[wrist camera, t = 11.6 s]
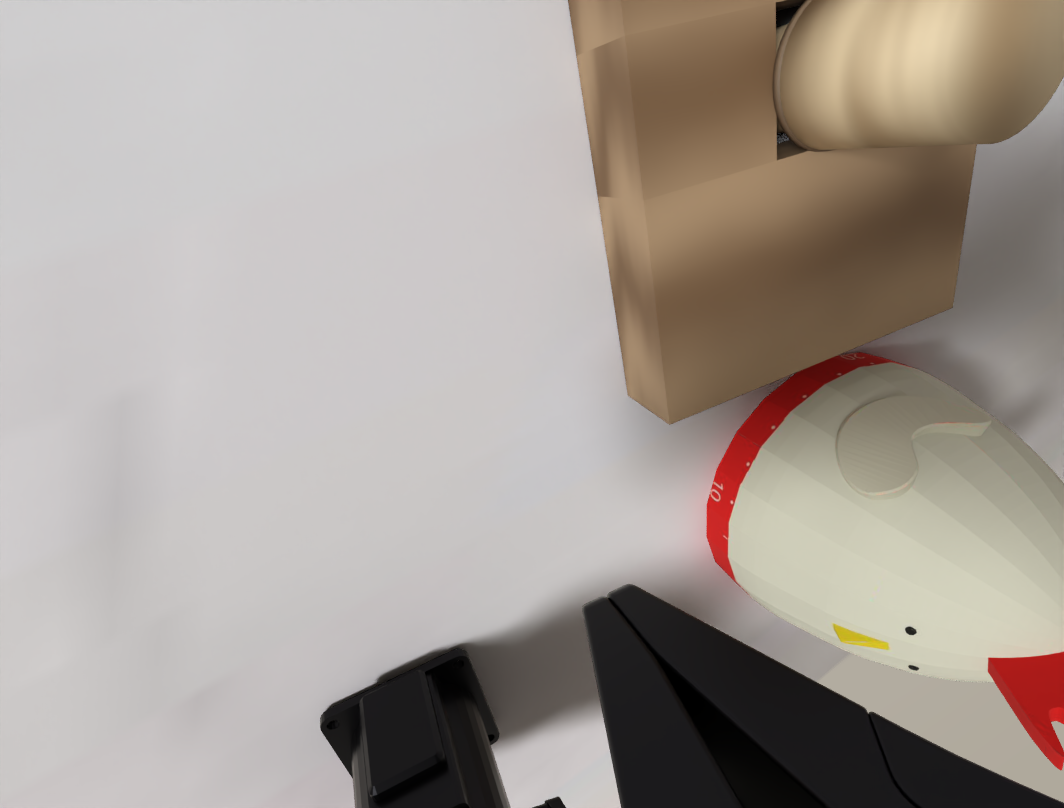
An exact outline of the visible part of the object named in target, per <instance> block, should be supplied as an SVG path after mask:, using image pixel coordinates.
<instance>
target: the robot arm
mask: <svg viewBox="0 0 1064 808" xmlns="http://www.w3.org/2000/svg"><path fill="white" fill-rule="evenodd" d="M582 612H583V617H584V622H585V627H586V632H587V637H588V642H589V647H590V652H591V657H592V662H593V667H594V672H595V677H596V682H597V687H598V692H599V697H600V702H601V707H602V713H603V718H604V723H605V728H606V733H607V738H608V743H609V748H610V753H611V758H612V763H613V768H614V773H615V778H616V783H617V788H618V793H619V798H620V803H621V808H1064V803H1063V802H1061V801H1058V800H1056V799H1053V798H1051V797H1049V796H1047V795H1044V794H1042V793H1040V792H1038V791H1035V790H1033V789H1031V788H1028V787H1026V786H1024V785H1021V784H1019V783H1017V782H1015V781H1013V780H1010V779H1008V778H1006V777H1004V776H1001V775H999V774H997V773H995V772H992V771H990V770H988V769H986V768H984V767H982V766H979V765H977V764H975V763H973V762H971V761H969V760H966V759H964V758H962V757H960V756H958V755H956V754H954V753H952V752H950V751H948V750H946V749H944V748H942V747H940V746H938V745H936V744H934V743H932V742H930V741H928V740H926V739H924V738H922V737H920V736H918V735H916V734H914V733H912V732H910V731H908V730H906V729H904V728H902V727H900V726H899V725H897V724H895V723H893V722H891V721H889V720H887V719H885V718H883V717H882V716H880V715H878V714H876V713H874V712H869V713H868V712H867V710H866V709H865V708H864V707H862V706H861V705H859V704H857V703H855V702H853V701H851V700H849V699H847V698H846V697H844V696H842V695H840V694H838V693H836V692H834V691H832V690H830V689H828V688H827V687H825V686H823V685H821V684H819V683H817V682H815V681H814V680H812V679H810V678H808V677H806V676H804V675H802V674H800V673H798V672H797V671H795V670H793V669H791V668H789V667H787V666H785V665H783V664H782V663H780V662H778V661H776V660H774V659H772V658H770V657H768V656H766V655H765V654H763V653H761V652H759V651H757V650H755V649H753V648H751V647H750V646H748V645H746V644H744V643H742V642H740V641H738V640H736V639H734V638H733V637H731V636H729V635H727V634H725V633H723V632H721V631H719V630H718V629H716V628H714V627H712V626H710V625H708V624H706V623H704V622H702V621H701V620H699V619H697V618H695V617H693V616H691V615H689V614H687V613H686V612H684V611H682V610H680V609H678V608H676V607H674V606H672V605H670V604H669V603H667V602H665V601H663V600H661V599H659V598H657V597H655V596H654V595H652V594H650V593H648V592H646V591H644V590H642V589H640V588H638V587H637V586H635V585H632V584H627V585H624V586H622V587H620V588H618V589H616V590H614V591H612V592H610V593H609V594H608V595H607V597H605V596H602V597H599V598H597V599H595V600H593V601H591V602H589V603H587V604H585V605H584V606H583V608H582ZM458 660H459V661H458ZM456 661H458V662H456ZM333 720H335V721H333ZM320 728H321V731H322V733H323V734H324V736H325V737H326V739H327V740H328V742H329V743H330V745H331V746H332V748H333V749H334V751H335V752H336V754H337V755H338V757H339V758H340V760H341V761H342V763H343V764H344V766H345V768H346V769H347V771H348V772H349V774H350V775H351V777H352V778H353V786H354V799H355V808H510V804H509V801H508V798H507V795H506V792H505V789H504V786H503V783H502V779H501V776H500V773H499V770H498V767H497V764H496V761H495V758H494V754H493V751H492V748H491V745H492V744H493V743H495V742H496V741H497V740H498V738H499V731H498V728H497V725H496V723H495V721H494V718H493V716H492V713H491V711H490V708H489V706H488V703H487V701H486V698H485V696H484V694H483V691H482V689H481V686H480V684H479V681H478V679H477V676H476V674H475V671H474V669H473V667H472V664H471V662H470V659H469V657H468V654H467V652H466V651H465V650H463V649H456V650H453V651H451V652H449V653H446V654H444V655H442V656H440V657H438V658H436V659H434V660H432V661H430V662H427V663H425V664H423V665H421V666H419V667H417V668H415V669H413V670H411V671H408V672H406V673H404V674H402V675H400V676H398V677H396V678H394V679H392V680H389V681H387V682H385V683H383V684H381V685H379V686H377V687H375V688H372V689H370V690H368V691H366V692H364V693H362V694H360V695H358V696H356V697H353V698H351V699H349V700H347V701H345V702H343V703H341V704H339V705H337V706H334V707H332V708H330V709H328V710H327V711H325V712H324V713H323V714H322V715H321V718H320ZM533 808H566V807H565V805H564V804H563V802H562V801H561V799H560V798H559V797H555V798H552V799H549V800H546V801H545V804H542V805H539V806H536V807H533Z"/></svg>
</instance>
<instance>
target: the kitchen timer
mask: <svg viewBox="0 0 1064 808" xmlns="http://www.w3.org/2000/svg"><path fill="white" fill-rule="evenodd" d="M707 539H708V542H709V545H710V548H711V551H712V553H713V556H714V559H715V562H716V563H717V564H718V565H719V566H720V567H721V568H722V569H723V570H724V571H725V572H726V573H727V574H728V575H729V576H730V577H731V578H732V579H733V580H734V581H735V582H736V583H737V584H738V585H739V586H740V587H741V588H742V589H743V590H744V591H745V592H746V593H747V594H748V595H749V596H750V597H751V598H753V599H754V600H755V601H756V602H758V603H759V604H760V605H762V606H763V607H764V608H766V609H767V610H769V611H770V612H772V613H773V614H775V615H776V616H778V617H780V618H782V619H783V620H785V621H787V622H789V623H791V624H792V625H794V626H796V627H798V628H800V629H802V630H804V631H806V632H808V633H810V634H812V635H814V636H816V637H818V638H820V639H822V640H824V641H826V642H828V643H830V644H832V645H834V646H836V647H838V648H840V649H842V650H844V651H847V652H849V653H852V654H854V655H857V656H860V657H862V658H865V659H868V660H871V661H874V662H877V663H880V664H883V665H887V666H890V667H893V668H897V669H900V670H904V671H907V672H911V673H916V674H920V675H924V676H929V677H935V678H941V679H947V680H956V681H968V682H995V684H996V685H997V687H998V688H999V690H1000V691H1001V693H1002V694H1003V696H1004V697H1005V699H1006V701H1007V702H1008V704H1009V705H1010V707H1011V708H1012V710H1013V711H1014V713H1015V714H1016V716H1017V717H1018V719H1019V721H1020V722H1021V724H1022V725H1023V727H1024V728H1025V730H1026V731H1027V733H1028V734H1029V735H1030V737H1031V738H1032V740H1033V741H1034V742H1035V743H1036V745H1037V746H1038V747H1039V748H1040V750H1041V751H1042V752H1043V753H1044V755H1045V756H1046V757H1047V758H1048V759H1049V760H1050V761H1051V762H1052V763H1053V765H1054V766H1056V767H1057V768H1058V769H1060V770H1062V768H1063V763H1064V751H1063V748H1062V746H1061V744H1060V742H1059V739H1058V738H1057V735H1056V733H1055V731H1054V729H1053V726H1052V724H1051V722H1052V721H1058V722H1061V723H1062V724H1064V483H1063V482H1062V481H1061V480H1060V478H1059V477H1058V476H1057V475H1056V474H1055V472H1054V471H1053V470H1052V469H1051V468H1050V467H1049V466H1048V465H1047V464H1046V463H1045V462H1044V461H1043V460H1042V459H1041V458H1040V457H1039V456H1038V455H1037V454H1036V453H1035V452H1034V451H1033V450H1032V449H1031V448H1030V447H1029V446H1028V445H1027V444H1026V443H1025V442H1024V441H1023V440H1022V439H1021V438H1019V437H1018V436H1017V435H1016V434H1015V433H1014V432H1013V431H1011V430H1010V429H1009V428H1007V427H1006V426H1005V425H1003V424H1002V423H1001V422H1000V421H998V420H997V419H996V418H994V417H993V416H992V415H990V414H989V413H987V412H986V411H985V410H983V409H982V408H981V407H979V406H978V405H977V404H975V403H974V402H972V401H971V400H970V399H968V398H967V397H965V396H964V395H963V394H961V393H960V392H958V391H957V390H955V389H954V388H952V387H951V386H949V385H948V384H946V383H944V382H943V381H941V380H939V379H937V378H935V377H933V376H932V375H930V374H927V373H925V372H923V371H921V370H918V369H916V368H913V367H910V366H907V365H904V364H901V363H898V362H894V361H891V360H888V359H885V358H881V357H877V356H873V355H870V354H866V353H862V352H859V353H852V354H845V355H839V356H835V357H832V358H830V359H827V360H825V361H822V362H820V363H818V364H815V365H813V366H810V367H808V368H806V369H803V370H801V371H799V372H797V373H795V374H794V375H793V376H792V377H790V378H789V379H788V380H787V381H785V382H784V383H783V384H782V385H781V386H779V387H778V388H777V389H776V390H774V391H773V392H772V393H771V394H769V395H768V396H767V397H766V398H764V399H763V401H762V402H761V403H760V404H759V406H758V407H757V408H756V409H755V410H754V412H753V413H752V414H751V415H750V416H749V418H748V419H747V420H746V421H745V423H744V424H743V425H742V426H741V427H740V429H739V430H738V431H737V432H736V434H735V436H734V438H733V440H732V442H731V444H730V445H729V447H728V449H727V451H726V453H725V455H724V457H723V458H722V460H721V462H720V464H719V466H718V468H717V471H716V474H715V478H714V481H713V485H712V488H711V492H710V495H709V499H708V503H707Z"/></svg>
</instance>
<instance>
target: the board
mask: <svg viewBox="0 0 1064 808" xmlns="http://www.w3.org/2000/svg"><path fill="white" fill-rule="evenodd" d="M805 1H806V0H568V3H569V10H570V16H571V23H572V29H573V36H574V43H575V49H576V56H577V62H578V69H579V76H580V82H581V89H582V95H583V102H584V108H585V115H586V122H587V128H588V135H589V141H590V148H591V155H592V161H593V168H594V174H595V181H596V188H597V194H598V201H599V207H600V214H601V221H602V227H603V234H604V240H605V247H606V254H607V260H608V267H609V273H610V280H611V287H612V293H613V300H614V306H615V313H616V320H617V326H618V333H619V339H620V346H621V352H622V359H623V366H624V372H625V379H626V385H627V392H628V396H630V397H631V398H632V399H634V400H635V401H637V402H638V403H639V404H641V405H642V406H644V407H645V408H647V409H648V410H649V411H651V412H652V413H654V414H655V415H656V416H658V417H659V418H661V419H662V420H664V421H665V422H666V423H668V424H669V425H670V424H673V423H675V422H677V421H680V420H682V419H685V418H687V417H689V416H692V415H694V414H697V413H699V412H702V411H704V410H706V409H709V408H711V407H714V406H716V405H718V404H721V403H723V402H726V401H728V400H731V399H733V398H735V397H738V396H740V395H743V394H745V393H747V392H750V391H752V390H755V389H757V388H760V387H762V386H764V385H767V384H769V383H772V382H774V381H777V380H779V379H781V378H784V377H786V376H789V375H791V374H793V373H796V372H798V371H801V370H803V369H806V368H808V367H810V366H813V365H815V364H818V363H820V362H822V361H825V360H827V359H830V358H832V357H835V356H837V355H839V354H842V353H844V352H847V351H849V350H851V349H854V348H856V347H859V346H861V345H864V344H866V343H868V342H871V341H873V340H876V339H878V338H880V337H883V336H885V335H888V334H890V333H893V332H895V331H897V330H900V329H902V328H905V327H907V326H909V325H912V324H914V323H917V322H919V321H922V320H924V319H926V318H929V317H931V316H934V315H936V314H938V313H941V312H943V311H946V310H948V309H951V308H953V302H954V295H955V288H956V282H957V275H958V268H959V261H960V254H961V248H962V241H963V234H964V227H965V221H966V214H967V207H968V200H969V194H970V187H971V180H972V173H973V166H974V160H975V153H976V146H977V144H970V145H942V146H915V147H888V148H860V149H836V150H832V151H824V152H813V151H807V150H805V149H802V148H800V147H799V146H797V145H795V144H794V143H793V142H792V141H791V140H788V141H785V142H782V143H778V144H777V115H776V111H775V107H774V101H773V89H772V84H773V71H774V63H775V59H776V11H779V10H783V9H787V8H792V7H796V6H801V5H802V4H803V2H805Z"/></svg>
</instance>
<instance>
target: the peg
mask: <svg viewBox="0 0 1064 808" xmlns="http://www.w3.org/2000/svg"><path fill="white" fill-rule="evenodd" d="M1063 77H1064V0H806V1H805V2H803V4H802V5H801V6H800V7H799V8H798V10H797V11H796V12H795V14H794V15H793V17H792V18H791V20H790V22H789V24H785V25H782V26H779V27H776V59H775V63H774V71H773V84H772V89H773V101H774V107H775V111H776V115H777V133H785V134H786V135H787V137H788V138H789V139H790V140H791V141H792V142H793V143H794V144H795V145H797V146H799V147H800V148H802V149H805V150H807V151H813V152H824V151H832V150H836V149H860V148H888V147H915V146H942V145H970V144H993V143H998V142H1001V141H1004V140H1006V139H1009V138H1010V137H1012V136H1014V135H1015V134H1017V133H1019V132H1020V131H1021V130H1022V129H1024V128H1025V127H1026V126H1027V125H1028V124H1029V123H1030V122H1032V121H1033V120H1034V119H1035V118H1036V116H1037V115H1038V114H1039V113H1040V112H1041V111H1042V110H1043V108H1044V107H1045V106H1046V104H1047V103H1048V102H1049V100H1050V99H1051V97H1052V96H1053V94H1054V93H1055V91H1056V89H1057V88H1058V86H1059V84H1060V82H1061V81H1062V79H1063Z"/></svg>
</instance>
